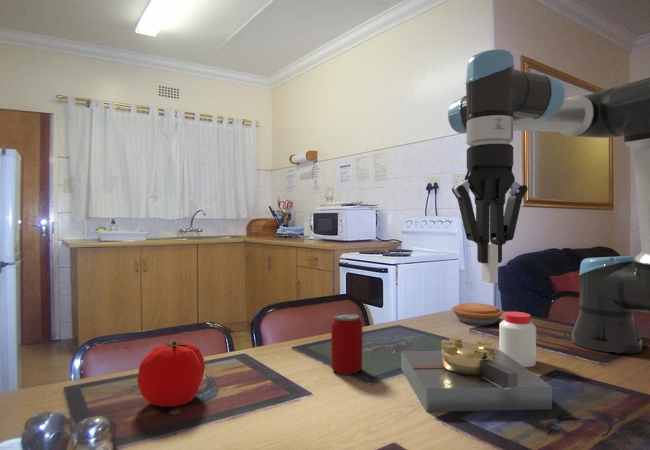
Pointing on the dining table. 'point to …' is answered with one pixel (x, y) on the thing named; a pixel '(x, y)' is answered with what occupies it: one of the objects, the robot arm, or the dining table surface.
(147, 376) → the tomato
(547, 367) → the dining table surface
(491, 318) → the pie
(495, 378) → the studded gold disc
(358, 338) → the beverage can
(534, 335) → the pill bottle
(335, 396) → the dining table surface
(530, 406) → the housing
